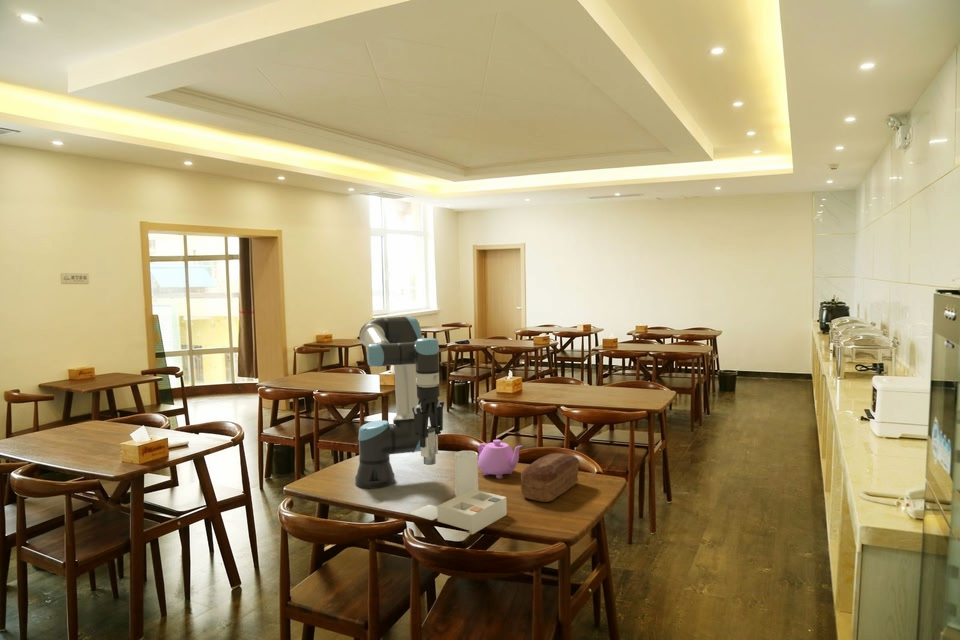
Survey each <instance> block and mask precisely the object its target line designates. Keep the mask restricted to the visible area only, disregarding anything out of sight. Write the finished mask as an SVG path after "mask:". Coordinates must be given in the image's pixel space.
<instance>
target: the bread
mask: <svg viewBox="0 0 960 640" xmlns="http://www.w3.org/2000/svg"><path fill="white" fill-rule="evenodd" d="M579 465H580V461H579V459H578V458H577V457H575V456H574V455H572V454H567V453H561V452H556V453H555V452H554V453H553V452H552V453H549V454H547V455H544V456H542V457H540V458H538V459H536V460H535V461H532V462H531V464H530V465H528V466H526V467H525V468H524V470H522V471H521V473H520V479H521V487H520V489H521V490H520V491H521V495H522V496H523V497H524V498H526V499H528V500H531V501H537V502H543V503H545V502H546V503H547V502H551V501H554V500H555V499H556V498H558V497H559V496H560V495H563V494H564V493H566V492H567V491H568V490H570V488H572V487H574V486H575V485H576V484H577V482H578V481H579V479H578V474H579Z"/></svg>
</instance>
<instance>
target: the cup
mask: <svg viewBox="0 0 960 640" xmlns="http://www.w3.org/2000/svg"><path fill="white" fill-rule="evenodd" d="M478 454H479V453H478V452H476V451H475V450H460V451H457V452H455V453H454V479H455V481H454V482H455V483H454V484H455V486H454V487H455V490H454V492H455V497H457V496H459V495H461V494H464V493H466V492H468V491H470V490H472V489H475V490H479V466H478Z"/></svg>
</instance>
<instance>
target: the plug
mask: <svg viewBox="0 0 960 640" xmlns="http://www.w3.org/2000/svg"><path fill="white" fill-rule="evenodd" d="M426 437H428V446H429V457H423V464H424V465H426V466H433V465H435V464H436V463H437V461H436V458H437V454H436V448H435V427H434V426H431V425H428V427H427V436H426Z"/></svg>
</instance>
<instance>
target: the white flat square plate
mask: <svg viewBox="0 0 960 640" xmlns="http://www.w3.org/2000/svg"><path fill="white" fill-rule="evenodd" d="M437 506H438V505H437ZM437 506H436V505H432V504H427V505H425V506H422V507H420V508H418V509H416V510H414V511H412V512H409V515H412V516H416V517H420V518H423V519H426V520H430V521H434V520H436V519H438V516H437Z"/></svg>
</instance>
